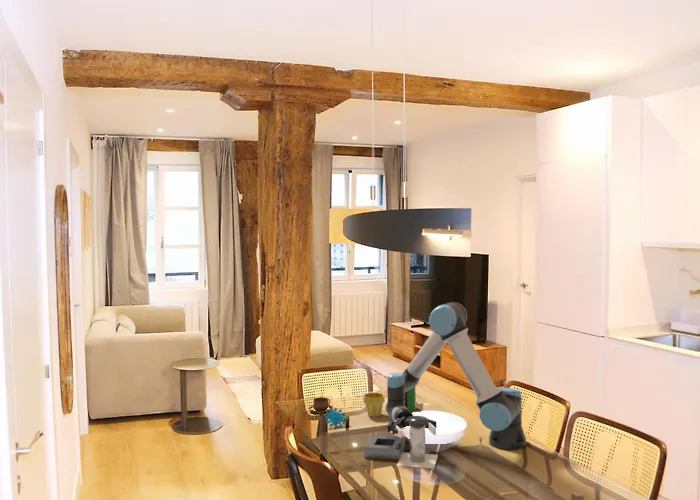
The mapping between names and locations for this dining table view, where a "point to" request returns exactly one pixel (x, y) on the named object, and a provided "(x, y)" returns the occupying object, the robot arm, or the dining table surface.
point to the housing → (384, 447)
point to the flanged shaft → (417, 438)
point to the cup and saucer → (321, 405)
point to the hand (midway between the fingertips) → (418, 433)
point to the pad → (428, 463)
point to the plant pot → (374, 403)
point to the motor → (410, 399)
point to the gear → (336, 418)
